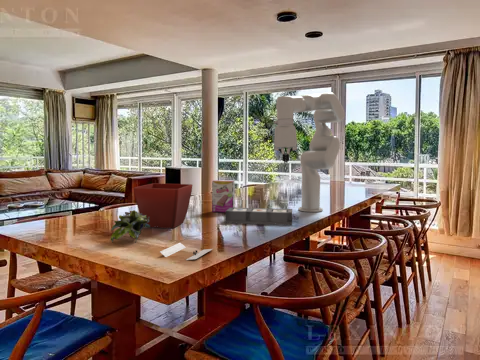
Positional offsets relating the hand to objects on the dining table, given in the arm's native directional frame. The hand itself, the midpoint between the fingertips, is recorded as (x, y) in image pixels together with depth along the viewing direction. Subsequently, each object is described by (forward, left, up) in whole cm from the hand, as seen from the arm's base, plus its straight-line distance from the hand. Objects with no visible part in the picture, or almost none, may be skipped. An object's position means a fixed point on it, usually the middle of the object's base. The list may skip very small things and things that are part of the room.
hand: (285, 162), depth 171 cm
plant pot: (+27, -50, -26) cm, 63 cm away
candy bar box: (-10, -32, -26) cm, 43 cm away
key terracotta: (+12, -11, -24) cm, 29 cm away
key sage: (+12, -2, -24) cm, 27 cm away
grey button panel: (+12, -11, -26) cm, 31 cm away
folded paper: (+67, -28, -27) cm, 77 cm away
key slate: (+12, -20, -24) cm, 34 cm away
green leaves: (+54, -52, -26) cm, 79 cm away
